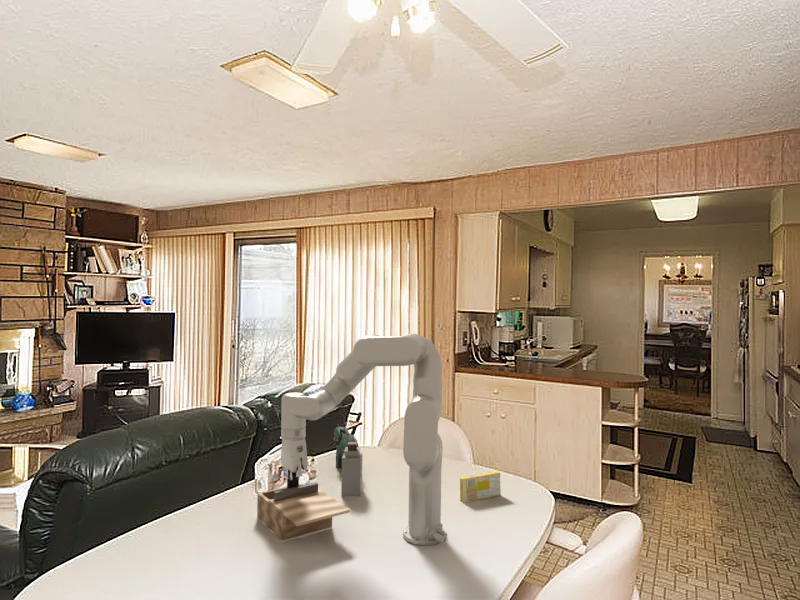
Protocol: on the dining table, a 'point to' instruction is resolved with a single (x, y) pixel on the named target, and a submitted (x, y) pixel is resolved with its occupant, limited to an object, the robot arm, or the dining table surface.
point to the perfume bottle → (351, 471)
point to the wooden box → (285, 520)
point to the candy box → (480, 487)
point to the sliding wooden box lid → (306, 504)
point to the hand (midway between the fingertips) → (292, 491)
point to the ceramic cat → (342, 443)
